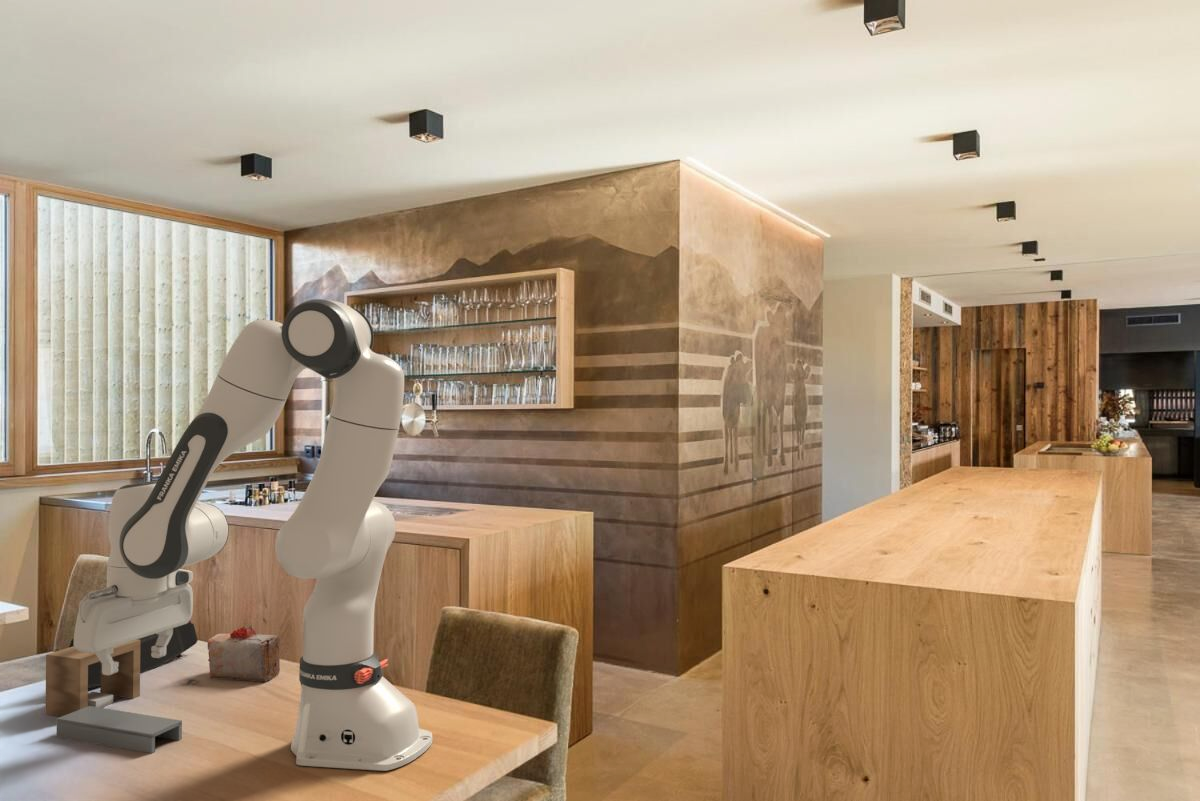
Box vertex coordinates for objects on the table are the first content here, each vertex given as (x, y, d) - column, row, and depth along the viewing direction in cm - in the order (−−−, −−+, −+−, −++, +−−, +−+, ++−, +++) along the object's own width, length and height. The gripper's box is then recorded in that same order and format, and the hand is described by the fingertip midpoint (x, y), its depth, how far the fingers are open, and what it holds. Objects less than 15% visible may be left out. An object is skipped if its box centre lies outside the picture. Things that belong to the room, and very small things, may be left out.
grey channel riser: (181, 738, 137) (181, 720, 137) (151, 753, 131) (151, 734, 131) (89, 723, 143) (89, 705, 143) (56, 736, 137) (56, 718, 137)
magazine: (55, 655, 152) (183, 577, 179) (42, 653, 153) (171, 575, 180) (79, 735, 157) (200, 647, 184) (67, 732, 158) (189, 645, 185)
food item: (200, 680, 165) (201, 631, 165) (224, 668, 173) (225, 620, 173) (263, 685, 163) (264, 634, 163) (285, 672, 171) (286, 624, 171)
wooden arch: (139, 695, 156) (140, 639, 156) (79, 719, 144) (80, 659, 144) (107, 690, 159) (107, 635, 159) (45, 714, 147) (46, 654, 147)
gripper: (96, 595, 125) (93, 688, 125) (200, 570, 144) (197, 650, 144) (64, 591, 127) (61, 682, 127) (171, 567, 146) (169, 645, 146)
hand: (135, 665), depth 136 cm, fingers open, 8 cm apart
